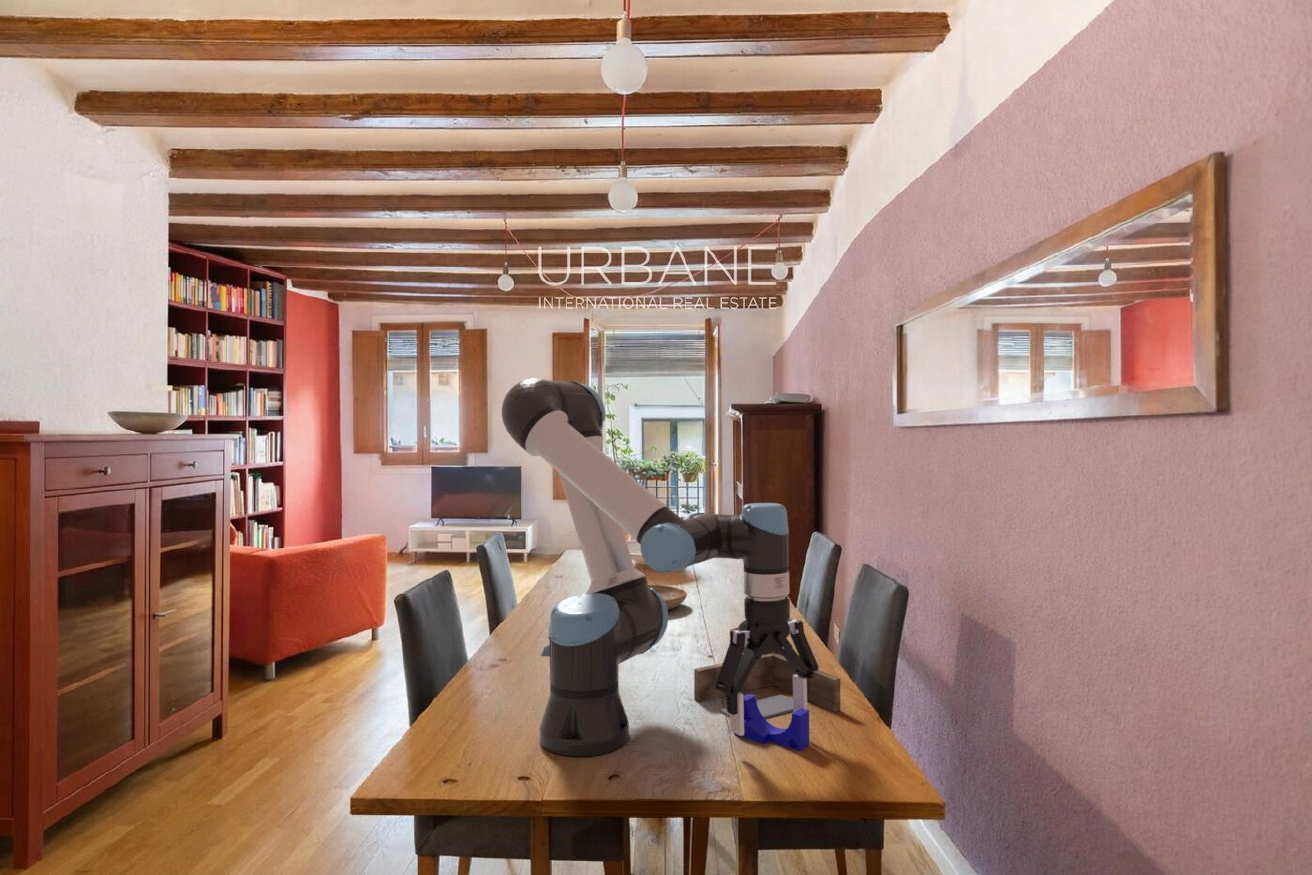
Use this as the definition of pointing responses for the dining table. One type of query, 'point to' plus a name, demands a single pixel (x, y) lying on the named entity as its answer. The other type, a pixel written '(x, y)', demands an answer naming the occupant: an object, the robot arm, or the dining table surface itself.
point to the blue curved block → (764, 731)
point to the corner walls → (771, 681)
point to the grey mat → (770, 706)
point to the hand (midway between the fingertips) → (769, 723)
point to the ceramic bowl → (670, 595)
